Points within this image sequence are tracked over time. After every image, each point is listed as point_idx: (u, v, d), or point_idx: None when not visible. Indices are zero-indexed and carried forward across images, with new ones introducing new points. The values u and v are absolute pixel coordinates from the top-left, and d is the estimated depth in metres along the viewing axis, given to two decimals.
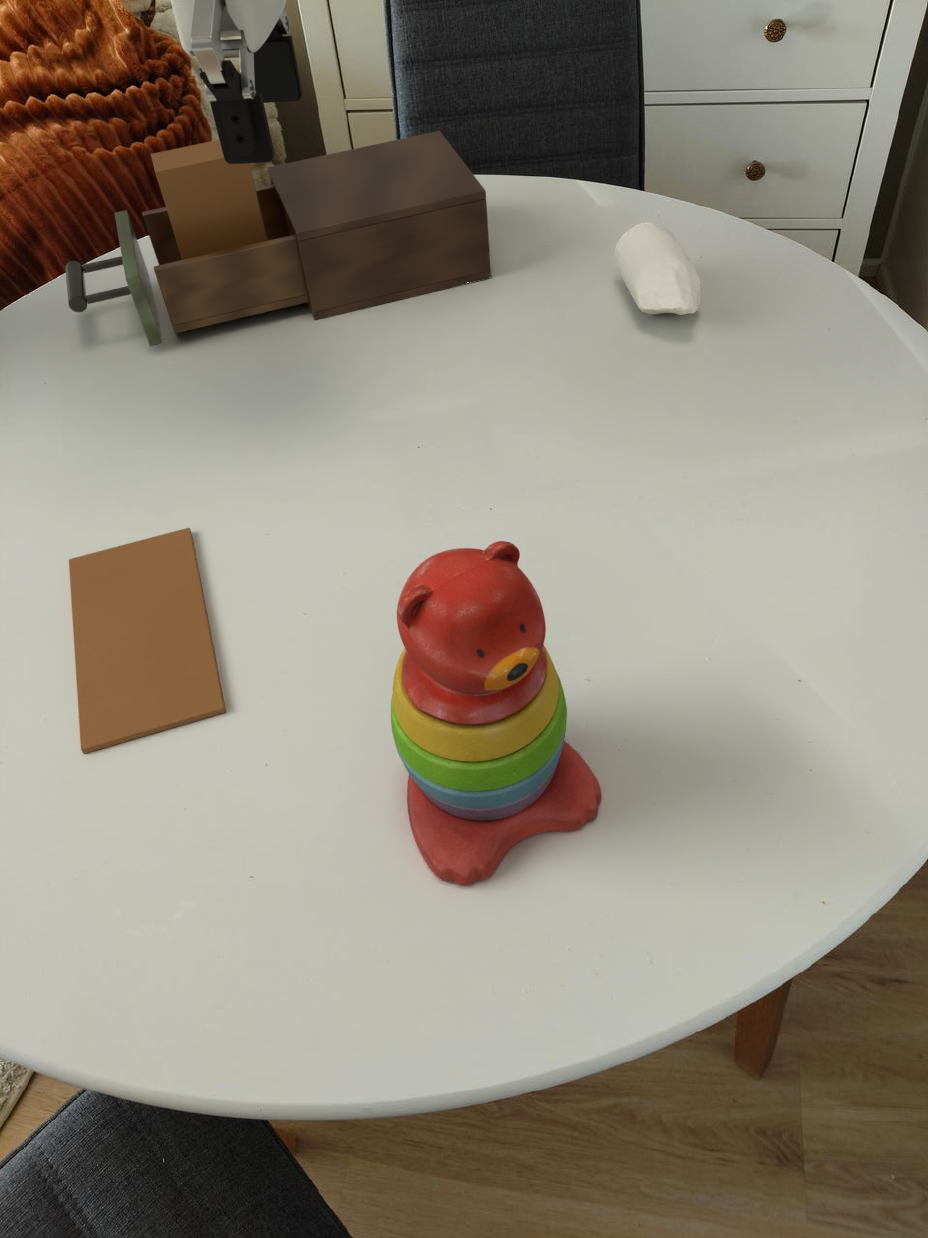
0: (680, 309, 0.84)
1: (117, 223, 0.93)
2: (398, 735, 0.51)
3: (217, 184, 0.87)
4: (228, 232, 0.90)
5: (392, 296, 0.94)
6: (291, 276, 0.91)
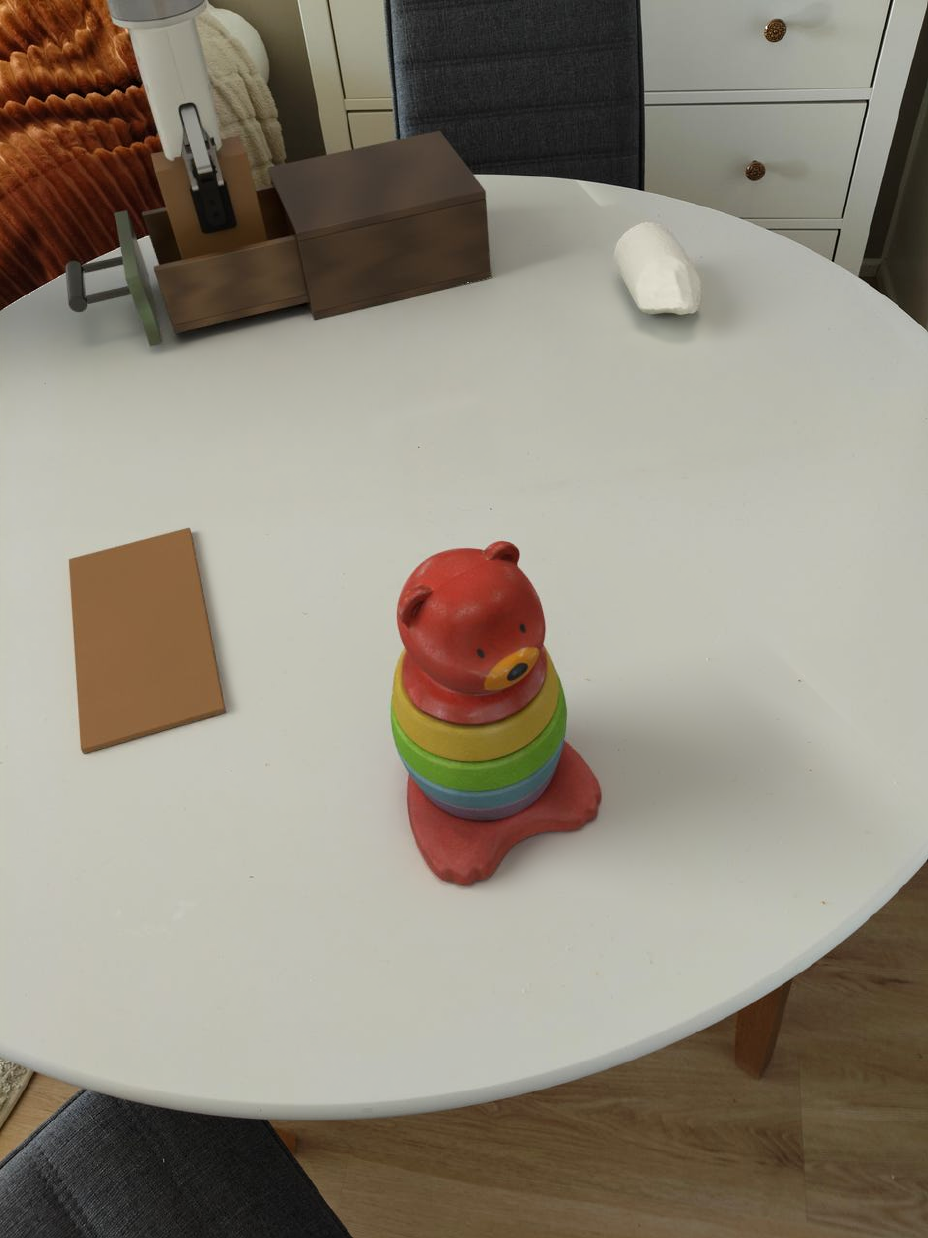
0: (680, 309, 0.84)
1: (117, 223, 0.93)
2: (398, 735, 0.51)
3: None
4: (228, 232, 0.90)
5: (392, 296, 0.94)
6: (291, 276, 0.91)
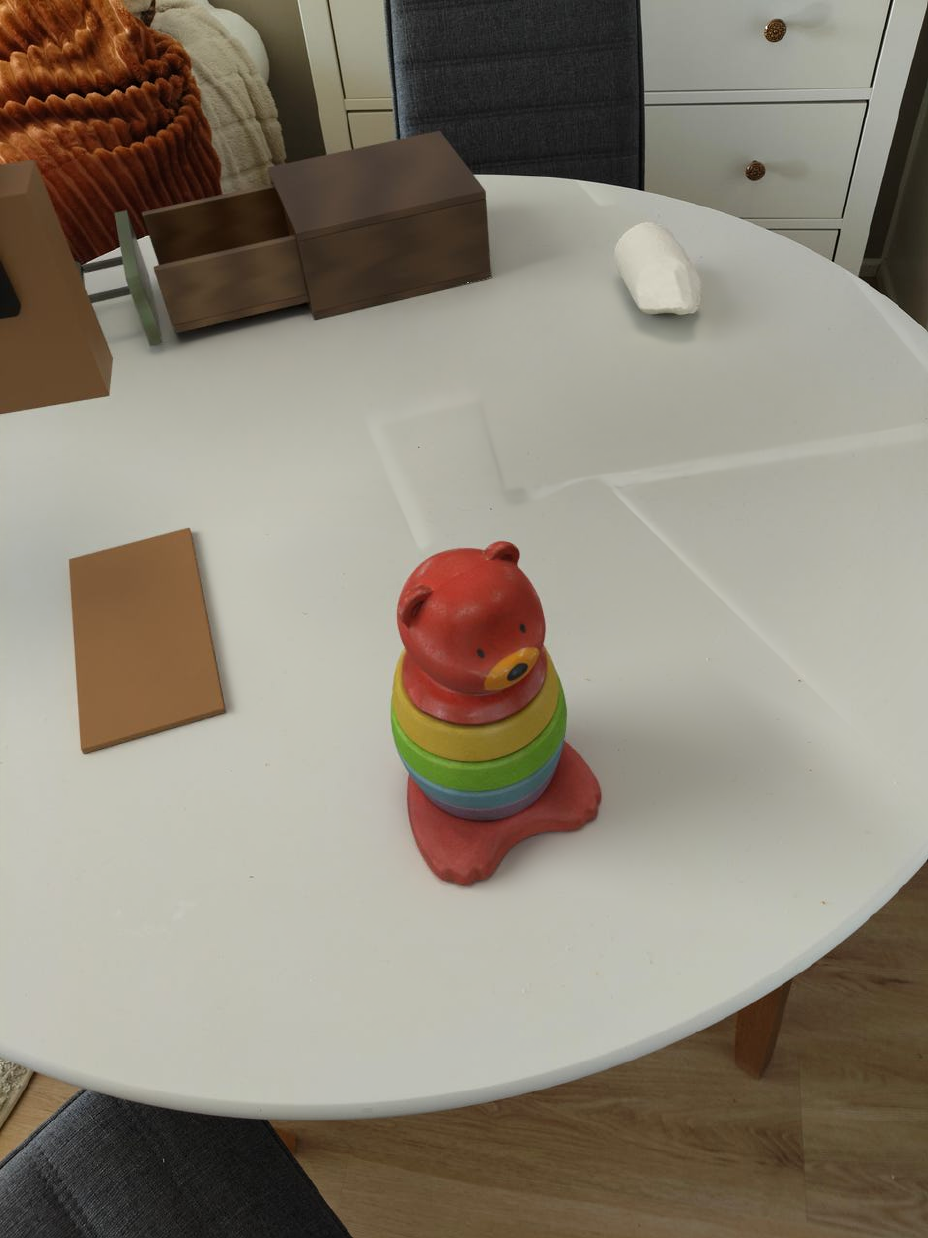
0: (680, 309, 0.84)
1: (117, 223, 0.93)
2: (398, 735, 0.51)
3: None
4: (13, 321, 0.53)
5: (392, 296, 0.94)
6: (291, 276, 0.91)
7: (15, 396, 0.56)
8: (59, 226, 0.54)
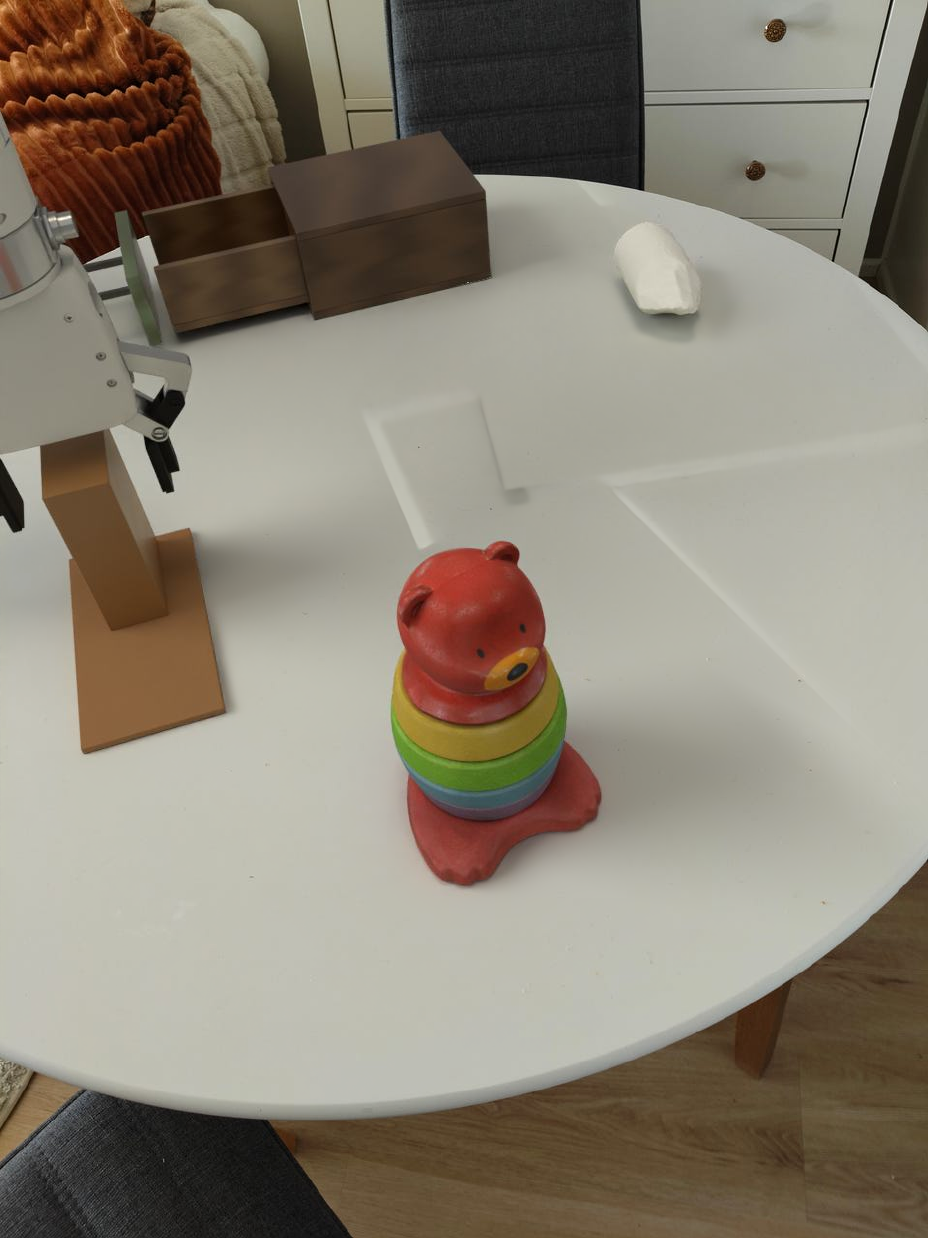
0: (680, 309, 0.84)
1: (117, 223, 0.93)
2: (398, 735, 0.51)
3: None
4: None
5: (392, 296, 0.94)
6: (291, 276, 0.91)
7: None
8: (121, 526, 0.62)
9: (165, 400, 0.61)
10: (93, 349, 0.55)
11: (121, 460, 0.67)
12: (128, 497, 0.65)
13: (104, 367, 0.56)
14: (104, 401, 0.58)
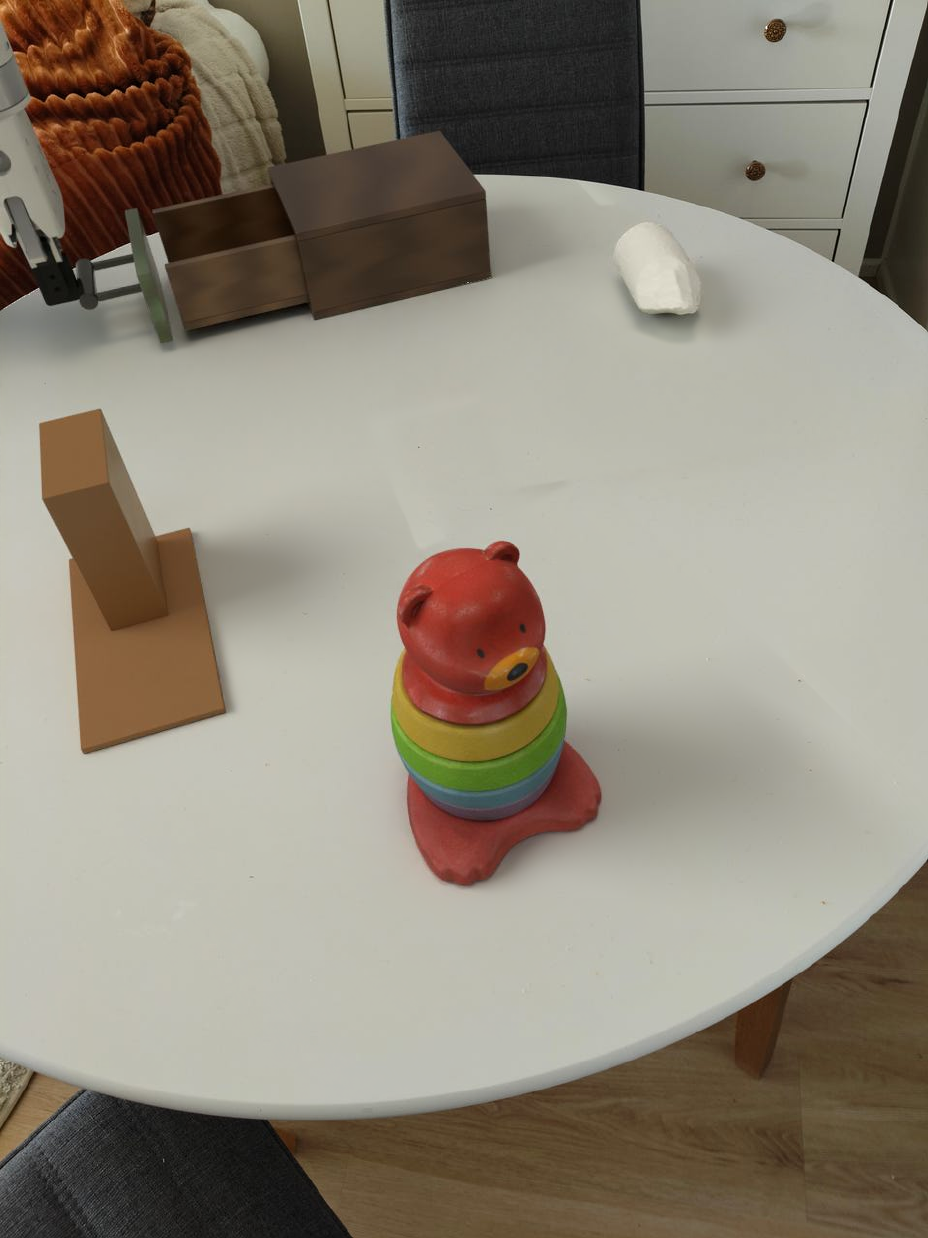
0: (680, 309, 0.84)
1: (127, 220, 0.93)
2: (398, 735, 0.51)
3: None
4: None
5: (392, 296, 0.94)
6: (301, 274, 0.91)
7: None
8: (121, 526, 0.62)
9: None
10: None
11: (121, 460, 0.67)
12: (128, 497, 0.65)
13: None
14: None
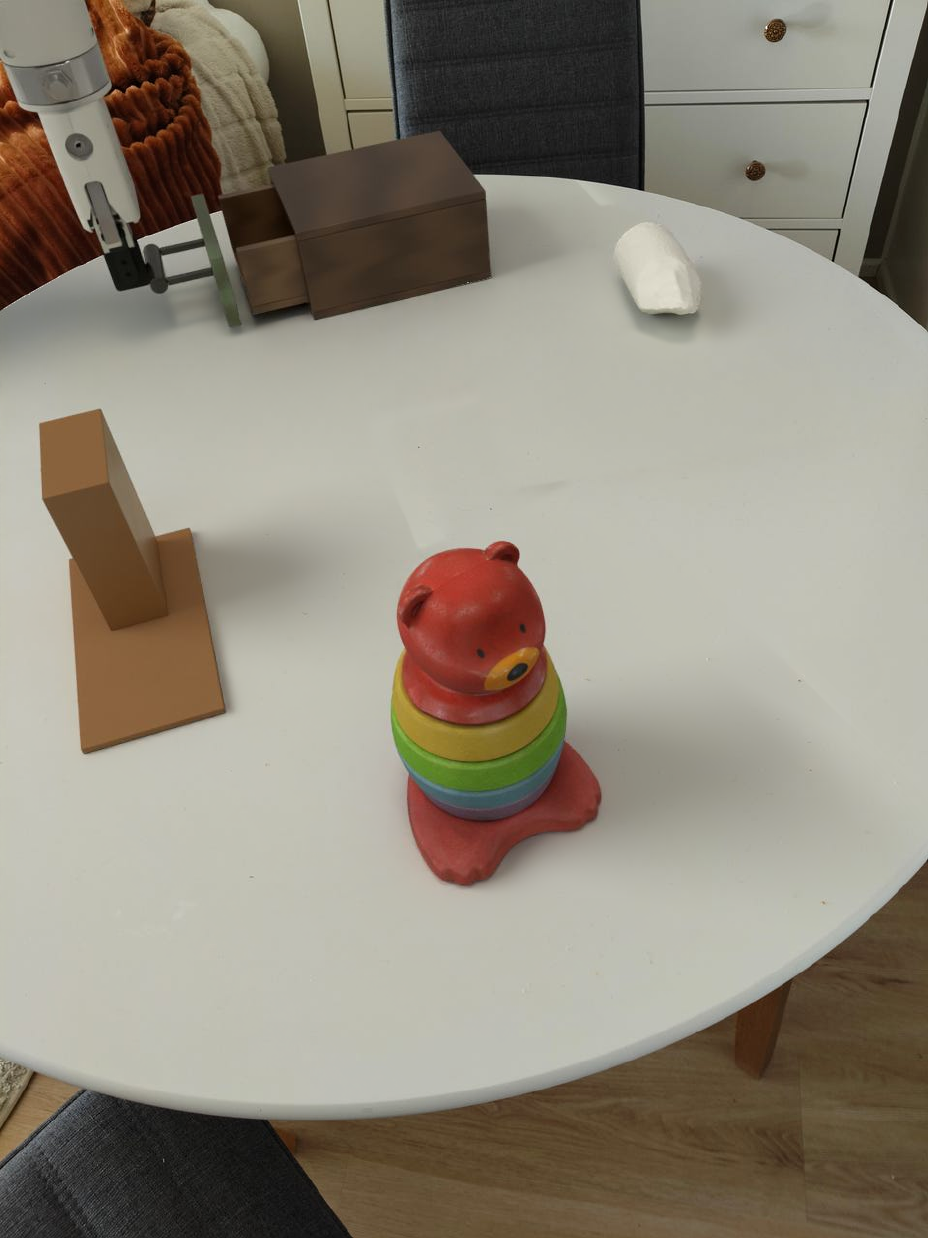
0: (680, 309, 0.84)
1: (194, 206, 0.94)
2: (398, 735, 0.51)
3: None
4: None
5: (392, 296, 0.94)
6: None
7: None
8: (121, 526, 0.62)
9: None
10: (59, 169, 0.81)
11: (121, 460, 0.67)
12: (128, 497, 0.65)
13: (65, 185, 0.82)
14: None
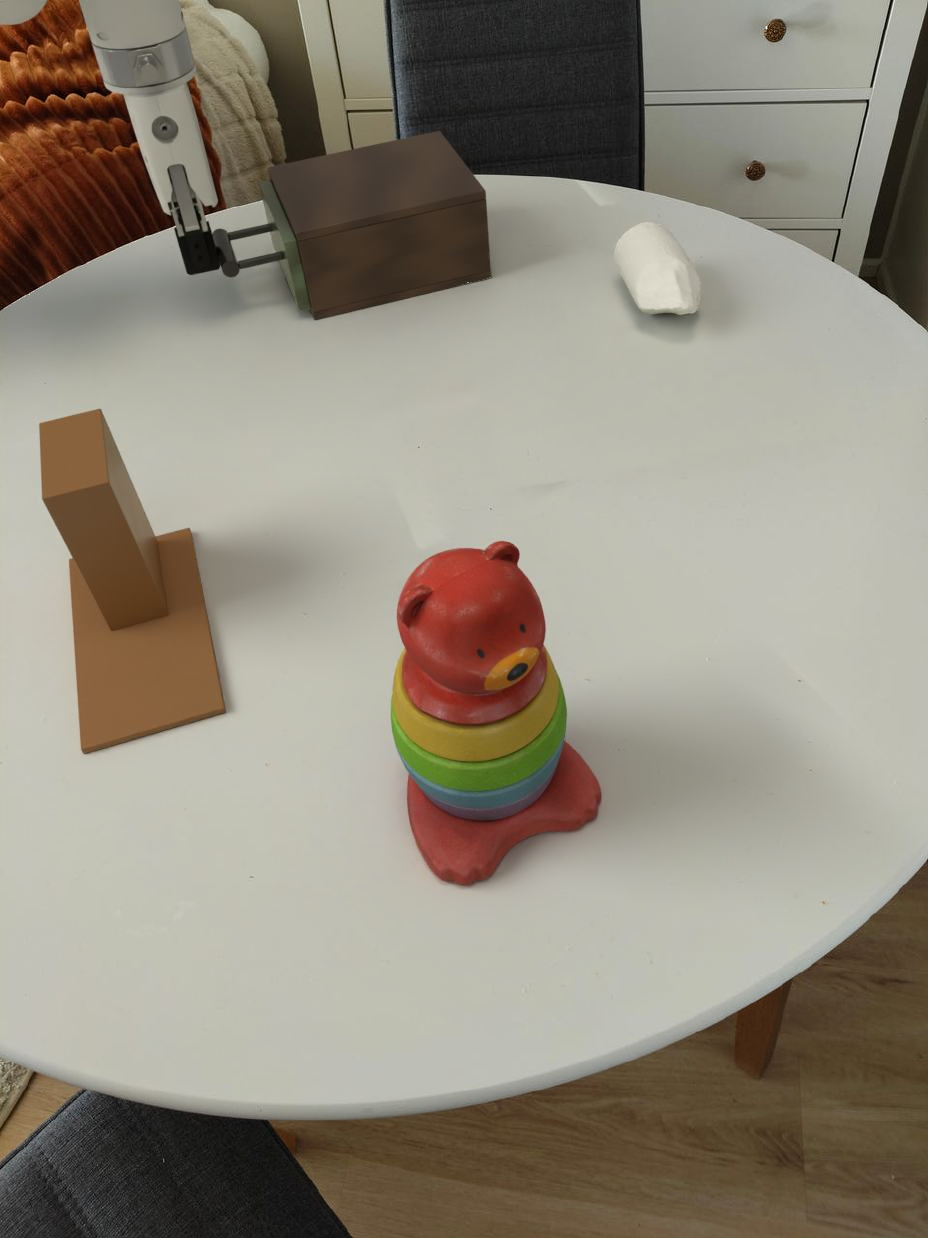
0: (680, 309, 0.84)
1: (263, 191, 0.95)
2: (398, 735, 0.51)
3: None
4: None
5: (392, 296, 0.94)
6: None
7: None
8: (121, 526, 0.62)
9: None
10: (143, 151, 0.82)
11: (121, 460, 0.67)
12: (128, 497, 0.65)
13: (148, 167, 0.83)
14: None
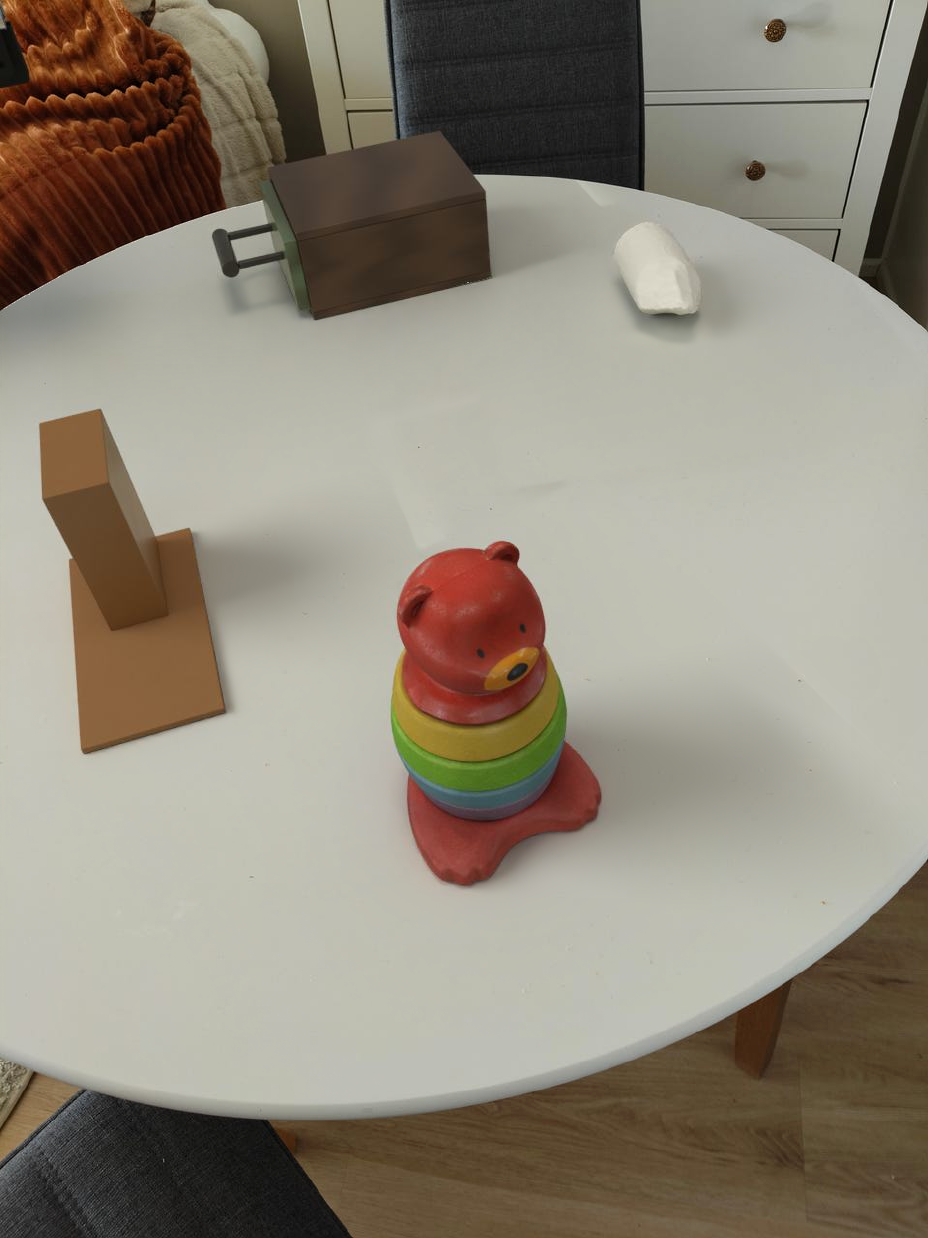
0: (680, 309, 0.84)
1: (263, 191, 0.95)
2: (398, 735, 0.51)
3: None
4: None
5: (392, 296, 0.94)
6: None
7: None
8: (121, 526, 0.62)
9: None
10: None
11: (121, 460, 0.67)
12: (128, 497, 0.65)
13: None
14: None
